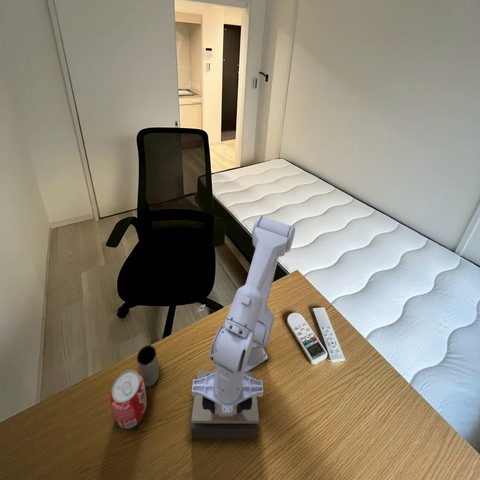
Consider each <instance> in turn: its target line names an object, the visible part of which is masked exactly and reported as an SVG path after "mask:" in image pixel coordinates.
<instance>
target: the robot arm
mask: <svg viewBox="0 0 480 480" xmlns="http://www.w3.org/2000/svg"><path fill="white" fill-rule="evenodd" d="M295 234H296V228H295V225H290V224H287V223H284V222H281V221H277V220H274V219H271V218H268V217H266V216H263V215H259V216H257V218H256V219H255V221H254V224H253V227H252V230H251V237H252V246H253V247H254V252H253V256H252V261H251V264H250V266H249V271H248V274H247V278H246V281H245V284H244V285H242V286H240V287H239V288H237V290H236V292H235V294H234V297H233V300H232V303H231V305H230V308H229V311H228V313H227V316H226V317H225V321H224V323H223V326H222V325H221V326H220V327H219V328H218V330H217V331H216V334H215V336H214V338H213V341H212V344H211V347H210V353H209V360H210V361H211V362H212V363H213V364H214V371H215V373H213V374H208V375H206V377H203V378H201V379H197V378H196V379H192V387H191V397H194V396H197V394H199V395H201V396H203V399H202V407H203V409H205V410H210V411H211V412H212V413H215V403H217V404H219V405H221V406H222V412H223V413H224V414H231V413H232V411H233V406H234V405H236V404H238V406H237V413H240V412H242V411H243V410H250V409H251V407H252V396H255V395H257V398H262V397H263V395H264V386H263V385H264V384H263V380H262V379H256V378H255V379H253V378H251V377H249V376H247V375H244V372H250V370H252V369H255V368H256V367H257V366H258V365H261V364H262V363H264V362H265V361H266V360H268V354H267V352H266V351H265V349H264V348H265V347H267V346H268V345H269V342H270V339H271V335H272V331H273V327H274V320H275V317H274V316H275V313H274V312H273V311H272V310H271V309H270V307H269V306H268V302H269V299H270V294H271V289H272V286H273V282H274V277H275V274H276V271H277V270H276V269H277V265H278V262H279V258H281V257H284V256H285V254H286V253H288V254H289V253H290V251H291V250H292V249H291V248H292V245H293V242H294V238H295Z"/></svg>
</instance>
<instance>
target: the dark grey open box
mask: <svg viewBox="0 0 480 480" xmlns="http://www.w3.org/2000/svg"><path fill="white" fill-rule="evenodd" d="M190 431H191V439H192V440H256V436H257V432H258V424H248V423H191V430H190Z"/></svg>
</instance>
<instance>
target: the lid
mask: <svg viewBox="0 0 480 480" xmlns="http://www.w3.org/2000/svg"><path fill="white" fill-rule="evenodd" d="M213 373H215V370H198V371H197V375H196V379H201V378H203V377H206V375H208V374H213ZM244 375H247V376H249V377H251V378H253V379H256V374H255V371H248V372H244ZM202 399H203V396H201V395H199V394H197V396H193V404H192V412H191V418H190V419H191V420H190V424H192V423H248V424H257V425H258V424H260V415H259V414H260V413H259V406H258V404H259V403H258V396H257V395H255V396H252V407H251V409H250V410H243V411H242V412H240V413H237V406H238V404H236V405H234V406H233V411H232V413H231V414H224V413H223V412H222V406H221V405H219V404H217V403H215V413H212V412H211V411H210V410H205V409H203V407H202Z"/></svg>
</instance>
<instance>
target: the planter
mask: <svg viewBox="0 0 480 480" xmlns="http://www.w3.org/2000/svg"><path fill="white" fill-rule="evenodd" d="M136 362H137V363H136V364H137V368H138V373H139V374H140V375H141V376H142V378H143V381H144V385H145V388H149V387H152V386H154V385H155V384H156V382H157V381H158V379H159V376H160V372H159V370H160V369H159V363H158V355H157V349H156V347H155V346H153V345H152V344H147V345H144V346H142V348H140V349H139V350H138V352H137V354H136Z"/></svg>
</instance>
